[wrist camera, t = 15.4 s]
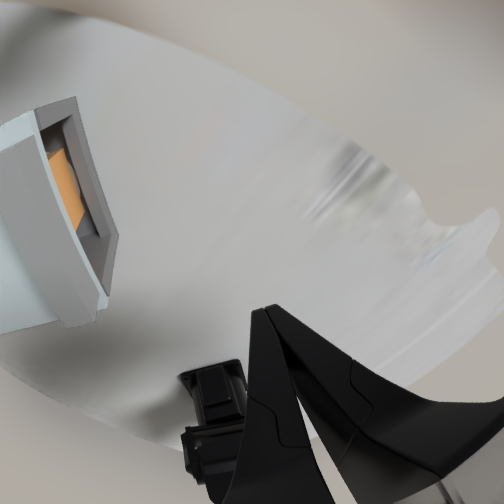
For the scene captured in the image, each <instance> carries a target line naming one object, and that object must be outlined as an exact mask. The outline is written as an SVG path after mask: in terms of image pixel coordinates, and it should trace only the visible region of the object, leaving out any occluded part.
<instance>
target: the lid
mask: <svg viewBox="0 0 504 504" xmlns="http://www.w3.org/2000/svg"><path fill="white" fill-rule="evenodd" d="M104 308H108V298H107V296H106V294H105V292H104V290H103V288H102V287H101V285H100V283H99V281H98V279H97V277H96V275H95V273H94V271H93V269H92V267H91V265H90V263H89V261H88V258H87V256H86V254H85V252H84V250H83V248H82V246H81V243H80V241H79V239H78V237H77V234H76V232H75V230H74V228H73V225H72V223H71V220H70V218H69V216H68V213H67V211H66V208H65V206H64V203H63V201H62V198H61V195H60V193H59V190H58V187H57V185H56V182H55V179H54V176H53V173H52V171H51V168H50V165H49V162H48V159H47V155H46V152H45V149H44V146H43V143H42V139H41V136H40V132H39V129H38V125H37V121H36V118H35V114H34V110H30V111H28V112H26V113H24V114H22V115H20V116H18V117H16V118H14V119H12V120H10V121H8V122H7V123H5V124H3V125H1V126H0V334H4V333H8V332H12V331H16V330H20V329H24V328H28V327H33V326H37V325H41V324H45V323H49V322H53V321H57V320H60V321H61V322H62V324H63V325H64V327H65V328H66V329H69V328H73V327H77V326H81V325H85V324H89V323H94V322H95V320H96V313H97V310H100V309H104Z"/></svg>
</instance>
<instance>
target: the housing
mask: <svg viewBox="0 0 504 504" xmlns="http://www.w3.org/2000/svg"><path fill="white" fill-rule="evenodd" d="M34 114H35V118H36V121H37V125H38V129H39V132H40V136H41V139H42V143H43V146H44V149H45V152H46V155H47V154H49V153H52V152H54V151H57V150H59V149H62V148H63V149H64V152H65V155H66V158H67V162H68V165H69V168H70V171H71V174H72V177H73V180H74V182H75V185H76V188H77V191H78V194H79V196H80V199H81V202H82V204H83V207H84V210H85V212H84V214H83V216H82V218H81V220H80V223H79V225H78V227H77V230H76V234H77V237H78V239H79V241H80V243H81V246H82V248H83V250H84V252H85V254H86V256H87V258H88V261H89V263H90V265H91V267H92V269H93V271H94V273H95V275H96V277H97V279H98V281H99V283H100V285H101V287H102V288H103V290H104V292H105V294H106V296H109V295H110V287H111V280H112V273H113V267H114V260H115V254H116V248H117V243H118V237H119V234H118V232H117V229H116V226H115V224H114V221H113V219H112V216H111V213H110V210H109V208H108V205H107V202H106V199H105V196H104V193H103V190H102V187H101V184H100V181H99V178H98V175H97V172H96V169H95V166H94V163H93V159H92V156H91V153H90V149H89V146H88V142H87V139H86V135H85V132H84V128H83V124H82V120H81V117H80V113H79V109H78V104H77V100H76V96H75V97H71V98H68V99H64V100H61V101H57V102H54V103H51V104H48V105H45V106H42V107H39V108H36V109H34Z"/></svg>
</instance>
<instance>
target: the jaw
mask: <svg viewBox="0 0 504 504" xmlns="http://www.w3.org/2000/svg"><path fill="white" fill-rule="evenodd" d="M47 159H48V162H49V165H50V168H51V171H52V173H53V176H54V179H55V182H56V185H57V187H58V190H59V193H60V195H61V198H62V201H63V203H64V206H65V208H66V211H67V213H68V216H69V218H70V220H71V223H72V225H73V228H74V230H75V232H76V230H77V227H78V225H79V223H80V220H81V218H82V216H83V214H84V212H85V210H84V207H83V204H82V202H81V199H80V196H79V194H78V191H77V188H76V185H75V182H74V180H73V177H72V174H71V171H70V168H69V165H68V162H67V158H66V155H65V152H64V149H63V148H62V149H59V150H57V151H54V152H52V153H49V154H47Z"/></svg>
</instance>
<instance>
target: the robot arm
mask: <svg viewBox="0 0 504 504" xmlns="http://www.w3.org/2000/svg"><path fill="white" fill-rule="evenodd" d="M180 376H181V380H182V382H183V384H184V385H185V387H186V389H187V390H188V392H189V394H190V395H191V397H192V399H193V401H194V406H195V411H196V415H197V420H198V425H199V426H194V427H190V426H188V427H185V430H186V432H185V433H183V434H181V440H182V445H183V451H184V460H185V467H186V471H187V472H188V473H190V474H191V475H193V477H194V479H196V481H197V484H198V485H203V484H206V488H207V492H208V495H209V498H210V500H211V501H212V502H213V503H214V504H335V502H334V500H333V498H332V495H331V493H330V491H329V489H328V487H327V485H326V482H325V480H324V478H323V476H322V474H321V472H320V469H319V467H318V465H317V462H316V459H315V456H314V453H313V450H312V448H311V444H310V440H309V436H308V433H307V430H306V426H305V423H304V420H303V416H302V413H301V410H300V406H299V403H298V400H297V397H298V399H299V401H300V403H301V405H302V406H303V408H304V410H305V412H306V414H307V415H308V417H309V419H310V421H311V423H312V425H313V426H314V428H315V430H316V432H317V434H318V435H319V437H320V439H321V441H322V443H323V444H324V446H325V448H326V450H327V451H328V453H329V455H330V457H331V458H332V460H333V462H334V463H335V466H336V467H337V469H338V471H339V473H340V474H341V476H342V478H343V479H344V481H345V483H346V485H347V486H348V488H349V490H350V492H351V493H352V495H353V497H354V498H355V500H356V502H357V503H358V504H504V397H502V398H501V399H499V400H496V401H493V402H486V403H465V402H464V403H463V402H437V401H432V400H428V399H425V398H422V397H420V396H418V395H416V394H414V393H412V392H410V391H408V390H406V389H404V388H402V387H400V386H398V385H396V384H394V383H392V382H390V381H388V380H386V379H385V378H383V377H381V376H379V375H377V374H376V373H374V372H372V371H371V370H369V369H368V368H366V367H365V366H363V365H362V364H360V363H359V362H357V361H356V360H355V359H353V360H352V357H350V356H349V355H347V354H346V353H344V352H343V351H342V350H340V349H339V348H337V347H336V346H334V345H333V344H332V343H330V342H329V341H327V340H326V339H325V338H323V337H322V336H320V335H319V334H318V333H316V332H315V331H313V330H312V329H311V328H309V327H308V326H306V325H305V324H304V323H302V322H301V321H299V320H298V319H297V318H295V317H294V316H293V315H291V314H290V313H288V312H287V311H286V310H284V309H283V308H281V307H280V306H279V305H277V304H273V305H270V306H266V307H265V308H260V309H256V310H253V311H252V312H251V328H250V346H249V364H248V383H246V379H245V376H244V373H243V369H242V366H241V362H240V360H238V359H236V360H232V361H228V362H225V363H221V364H217V365H214V366H210V367H206V368H202V369H198V370H195V371H191V372H186V373H183V374H181V375H180ZM246 391H247V394H246ZM296 395H297V396H296Z"/></svg>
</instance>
